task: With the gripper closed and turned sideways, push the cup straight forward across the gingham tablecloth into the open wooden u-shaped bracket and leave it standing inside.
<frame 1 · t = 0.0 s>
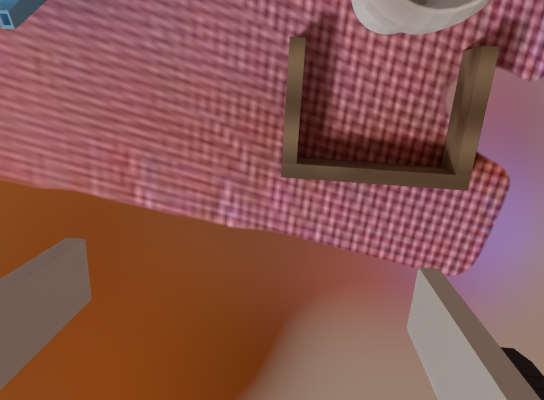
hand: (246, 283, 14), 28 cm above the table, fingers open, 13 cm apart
wooden u-shaped bracket: (375, 107, 38), on the table
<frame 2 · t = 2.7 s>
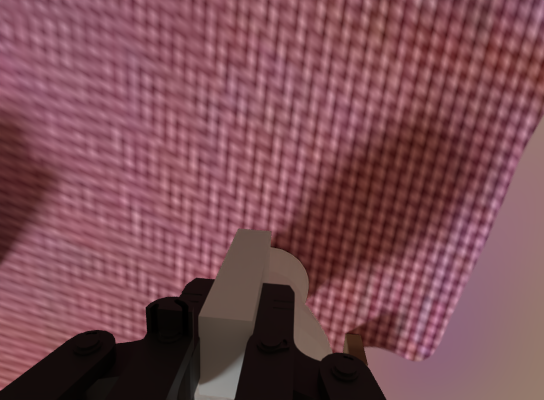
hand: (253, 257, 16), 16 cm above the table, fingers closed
wooden u-shaped bracket: (263, 373, 38), on the table
cup: (269, 281, 35), on the table
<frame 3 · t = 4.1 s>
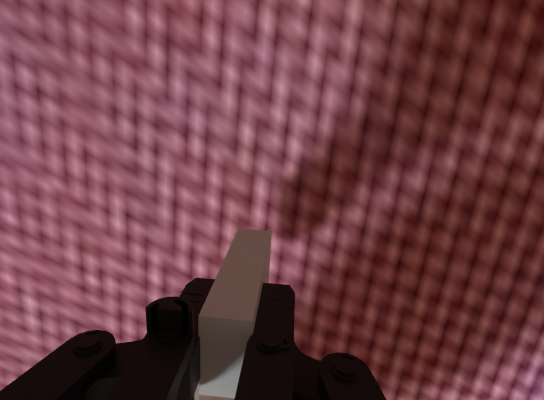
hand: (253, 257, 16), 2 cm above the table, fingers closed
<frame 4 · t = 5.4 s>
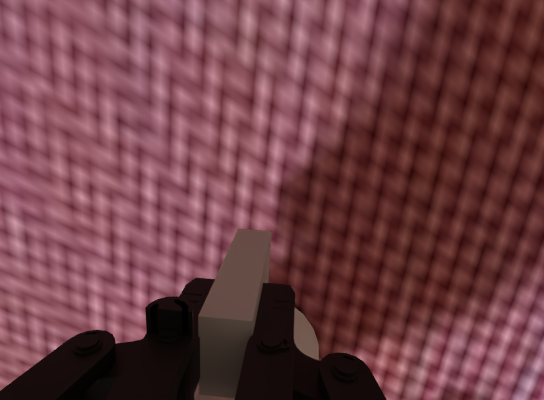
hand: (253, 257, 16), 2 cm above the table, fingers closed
cup: (250, 346, 20), on the table, touching gripper
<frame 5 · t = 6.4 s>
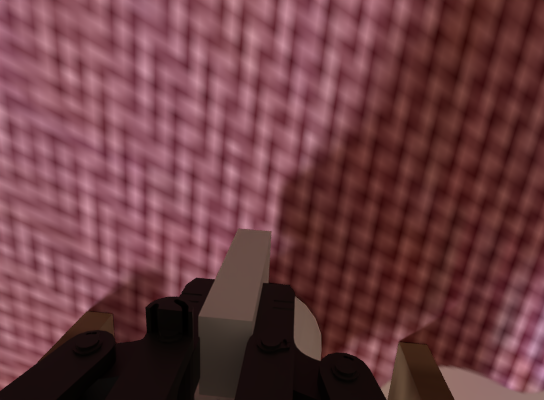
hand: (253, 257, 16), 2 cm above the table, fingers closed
cup: (252, 338, 20), on the table, touching gripper
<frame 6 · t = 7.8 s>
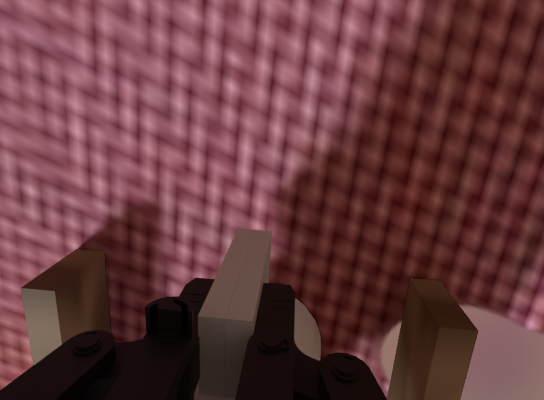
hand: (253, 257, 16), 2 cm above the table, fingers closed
wooden u-shaped bracket: (249, 359, 20), on the table
cup: (251, 339, 20), on the table, touching gripper
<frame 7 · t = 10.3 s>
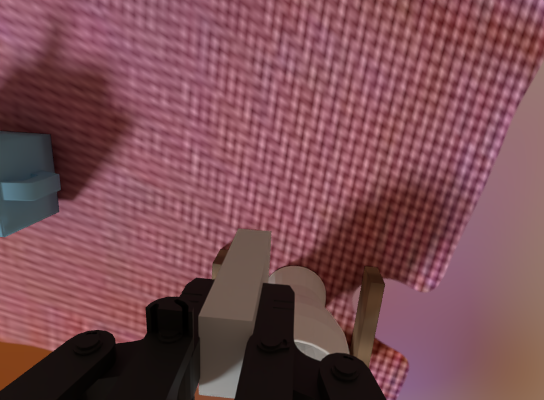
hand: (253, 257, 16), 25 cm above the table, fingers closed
wooden u-shaped bracket: (292, 301, 45), on the table
teapot: (23, 163, 43), on the table
cup: (294, 292, 45), on the table
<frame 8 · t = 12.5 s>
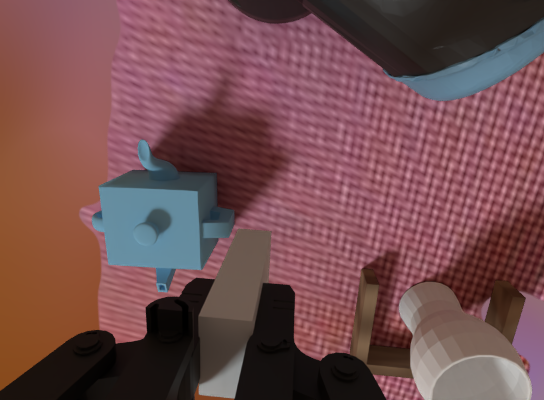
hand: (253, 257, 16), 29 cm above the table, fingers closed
wooden u-shaped bracket: (425, 313, 49), on the table
teapot: (182, 197, 47), on the table
cup: (427, 305, 49), on the table
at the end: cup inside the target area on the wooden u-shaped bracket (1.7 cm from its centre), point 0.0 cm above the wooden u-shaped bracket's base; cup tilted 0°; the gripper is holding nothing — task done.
